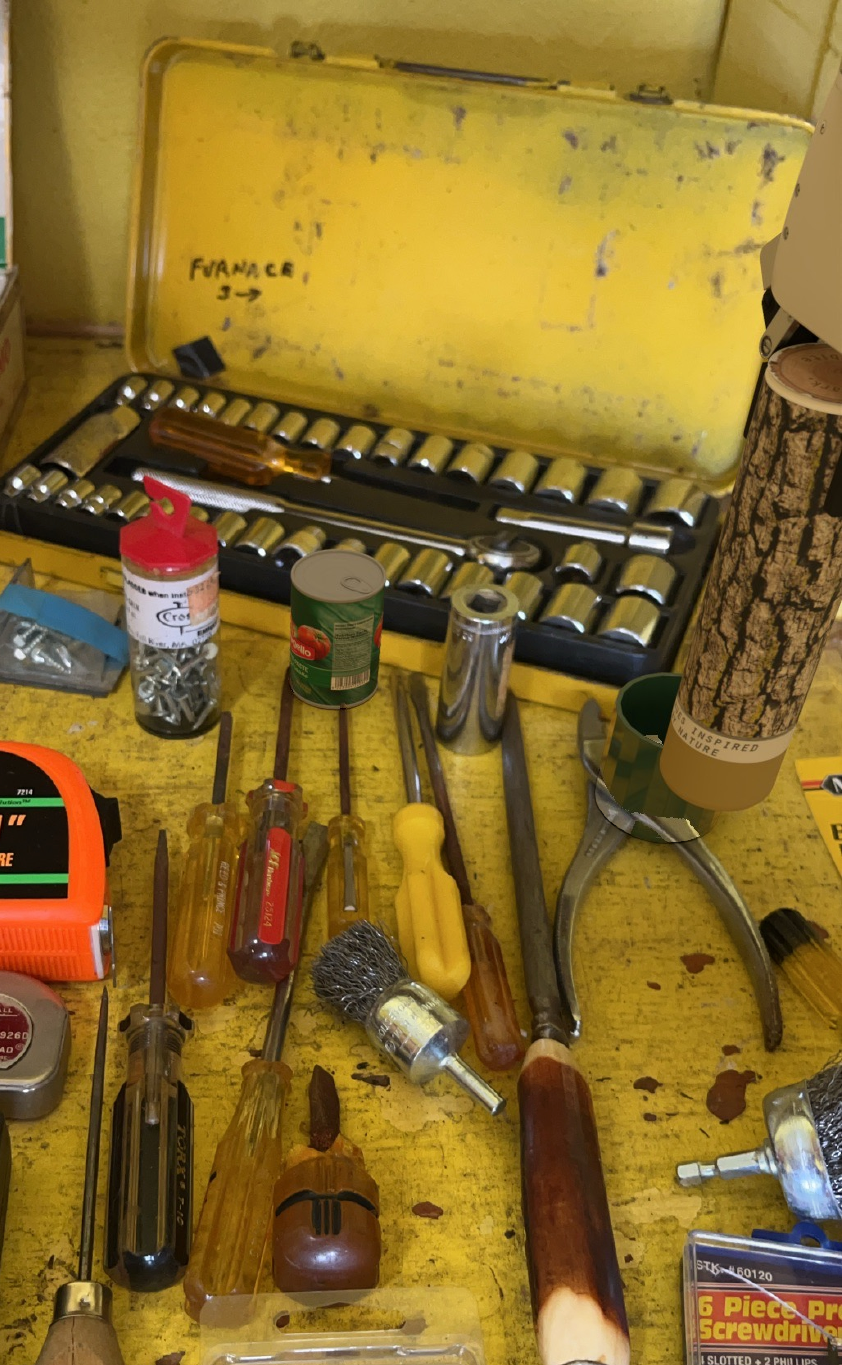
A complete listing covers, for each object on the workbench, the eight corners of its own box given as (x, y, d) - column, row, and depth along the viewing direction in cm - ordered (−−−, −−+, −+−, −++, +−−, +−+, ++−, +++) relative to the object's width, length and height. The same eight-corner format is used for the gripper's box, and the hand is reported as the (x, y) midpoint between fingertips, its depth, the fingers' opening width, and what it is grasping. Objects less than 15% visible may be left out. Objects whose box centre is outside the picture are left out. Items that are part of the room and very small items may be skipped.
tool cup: (684, 754, 104) (711, 665, 98) (741, 832, 98) (773, 742, 91) (574, 771, 103) (595, 681, 96) (625, 852, 96) (650, 761, 90)
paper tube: (767, 828, 73) (921, 415, 55) (650, 803, 75) (762, 393, 57) (774, 756, 78) (918, 353, 60) (663, 734, 79) (771, 334, 61)
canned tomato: (270, 683, 110) (270, 573, 103) (329, 645, 114) (333, 537, 107) (338, 722, 107) (343, 611, 99) (396, 682, 111) (406, 572, 103)
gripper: (1188, 104, 44) (987, 554, 57) (901, -4, 56) (787, 389, 68) (1004, 118, 43) (840, 577, 55) (748, 5, 54) (662, 404, 67)
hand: (812, 470), depth 62 cm, fingers closed on paper tube, 6 cm apart
